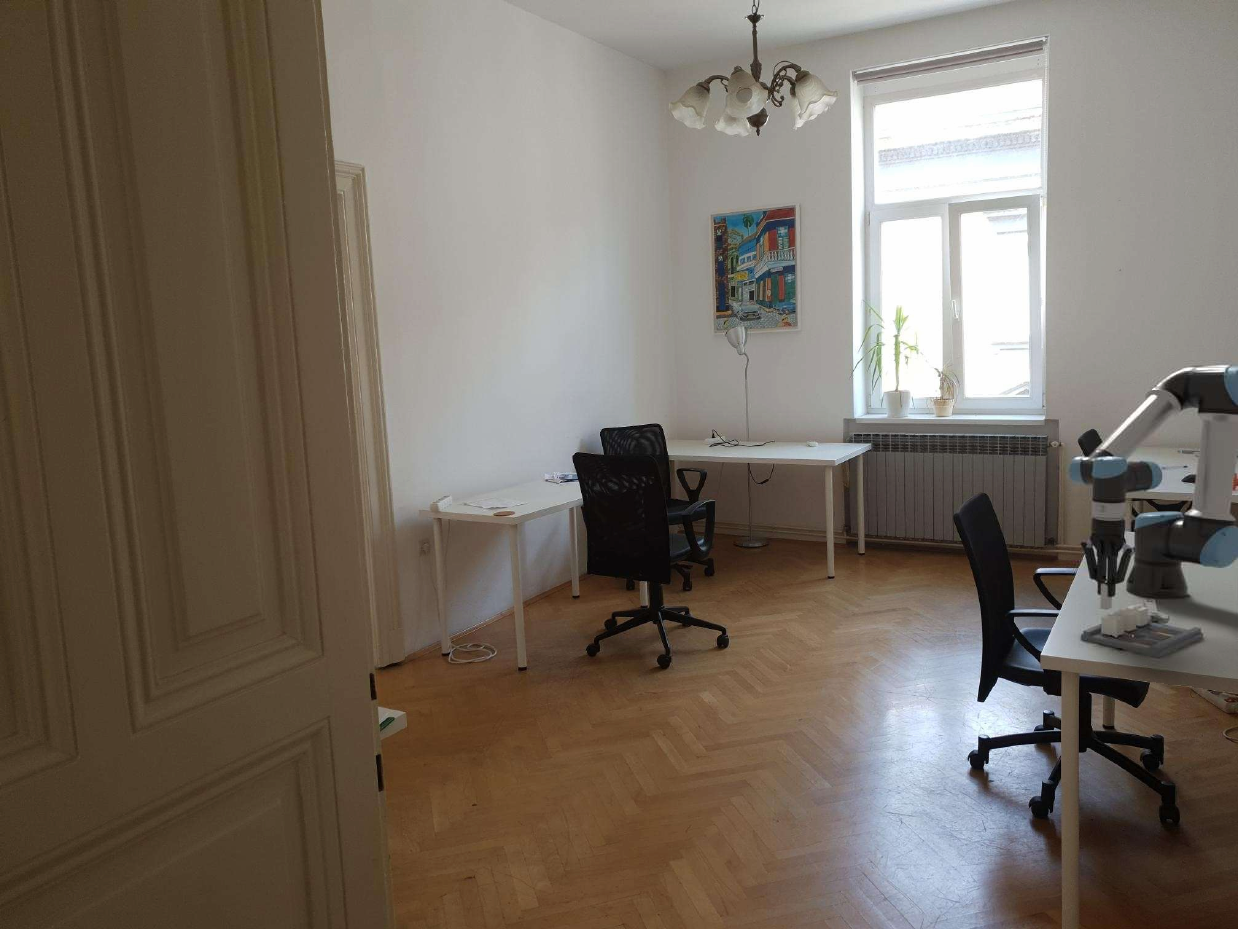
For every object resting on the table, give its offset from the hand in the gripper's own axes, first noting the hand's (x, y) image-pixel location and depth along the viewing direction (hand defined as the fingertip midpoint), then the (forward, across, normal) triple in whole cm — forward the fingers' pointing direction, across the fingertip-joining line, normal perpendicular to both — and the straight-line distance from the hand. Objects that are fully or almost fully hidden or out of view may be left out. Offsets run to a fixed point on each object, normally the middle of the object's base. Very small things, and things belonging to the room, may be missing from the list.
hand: (1105, 608), depth 229 cm
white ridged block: (+2, +8, -12) cm, 14 cm away
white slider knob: (+2, +8, -6) cm, 10 cm away
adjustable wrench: (+4, +5, +14) cm, 16 cm away
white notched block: (+2, +8, 0) cm, 8 cm away
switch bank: (+4, +12, -6) cm, 14 cm away
